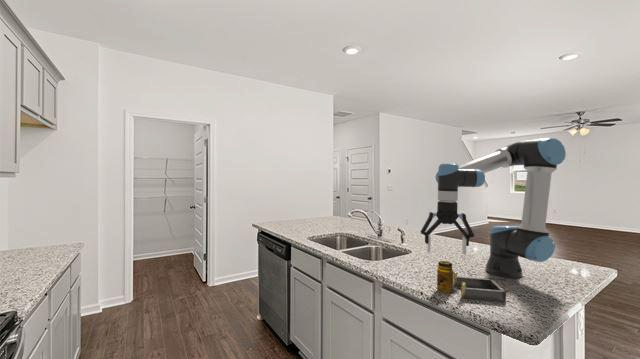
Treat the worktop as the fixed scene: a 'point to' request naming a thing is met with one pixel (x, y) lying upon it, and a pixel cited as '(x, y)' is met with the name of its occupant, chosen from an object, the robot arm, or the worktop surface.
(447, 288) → the condiment
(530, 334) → the worktop surface
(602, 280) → the worktop surface
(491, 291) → the grey open rectangular box
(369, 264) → the worktop surface
